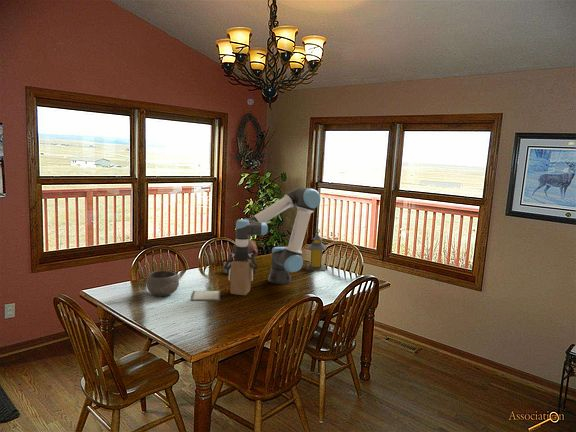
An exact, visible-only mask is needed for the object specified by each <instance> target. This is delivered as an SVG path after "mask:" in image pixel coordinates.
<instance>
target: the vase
mask: <svg viewBox="0 0 576 432" xmlns="http://www.w3.org/2000/svg"><path fill="white" fill-rule="evenodd" d="M235 244H236V242H235V243H234V245H232V247H231V248H232V249H231V251H232V252H231V253H232V254H235V246H236V245H235ZM247 246H248V254H251V253H253V258H254V259H255V258H257V256H258V255H259V251H258V247H257V246H258V245H257V244H256V242H255V241H253V240H252V239H251V235H249V236H248V245H247ZM232 258H233V259H235V258H236V257H235V256H233V257H232ZM247 259H249V260H251V261H252V258H251V257H250V256H248V257H247Z"/></svg>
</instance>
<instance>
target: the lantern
mask: <svg viewBox="0 0 576 432" xmlns="http://www.w3.org/2000/svg"><path fill="white" fill-rule="evenodd" d="M315 232H316V235H315V236H314V237H313V238H312V241H313V242H312V243H310V244H309V245H308V246H307V250H310V264H309V263H308V264H307V265H306V267H305V270H306V271H313V272H315V271H316V272H326V267H327V266H326V265H323V251H327V246H326V245H325V244H324V243H323V242H322V241H323V238H322V237H321V236H320V235H319V233H320V232H321V230H320V229H318V228H316V230H315Z"/></svg>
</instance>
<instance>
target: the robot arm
mask: <svg viewBox="0 0 576 432" xmlns="http://www.w3.org/2000/svg"><path fill="white" fill-rule="evenodd" d="M320 204H321V195H320V193H319V192H318V190H316V189H315V188H311V187H310V188H308V187H303V186H301V187H297V188H294V189H292V190H290V191H289V192H288V193H286V194H284V195H283V197H282V198H280V199H279V200H277V201H276V202H274V203H272V204H271V205H268V206H267V207H266V208H264V209H263V210H261V211H259V212H258V213H256V214H255V215H252V216H251V217H249V218H243V219H237V220H236V223H235V243H236V244H235V243H234V244H235V245H236V246H235V254H232V252H230V253H229V257H228V259H227V261H225V262H226V264H225V266H224V269H227V273H226V275H227V276H228V281H229V282H231V274H230V268H231V264H230V265H229V266H228V264H229V262H230V263H231V260H232V258H233V256H235V257H236V258H233V260H234V261H237V260H238V261H249V260H248V259H247V257H248V256H250V257H251V258H252V260H251V263H250V262H249V263H250V266H251V282H253V281H254V276H255V275H256V270H258V269H259V267H258V265H257V262H256V260H255V258H253V253H251V254H248V246H247V245H248V236H249V235H250V236H262V235H267V234H268V230H269V227H268V224H267V222H269V221H270V220H271V219H274V218H275V217H276V216H278V215H280V214H281V213H284V212H285V211H286V210H288V209H289V208H294V207H296V208H297V211H296V216H295V219H294V222H293V226H292V230H291V234H290V238H289V241H288V245H287V246H275V247H272V249H271V267H270V272H269V274H268V280H267V281H268V282H269V283H271V284H277V285H284V284H285V285H286V284H290V283H291V281H292V277H291V274H290V273H297V272H298V271H300V270H301V269H302V267H303V264H304V259H303V257H302V256H303V251H302V246H303V242H304V239H305V236H306V232H307V229H308V225H309V222H310V217H311V215H312V213H314V212H315V209H316V208H317V207H319V205H320ZM252 262H253V263H252ZM227 266H228V267H227Z"/></svg>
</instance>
